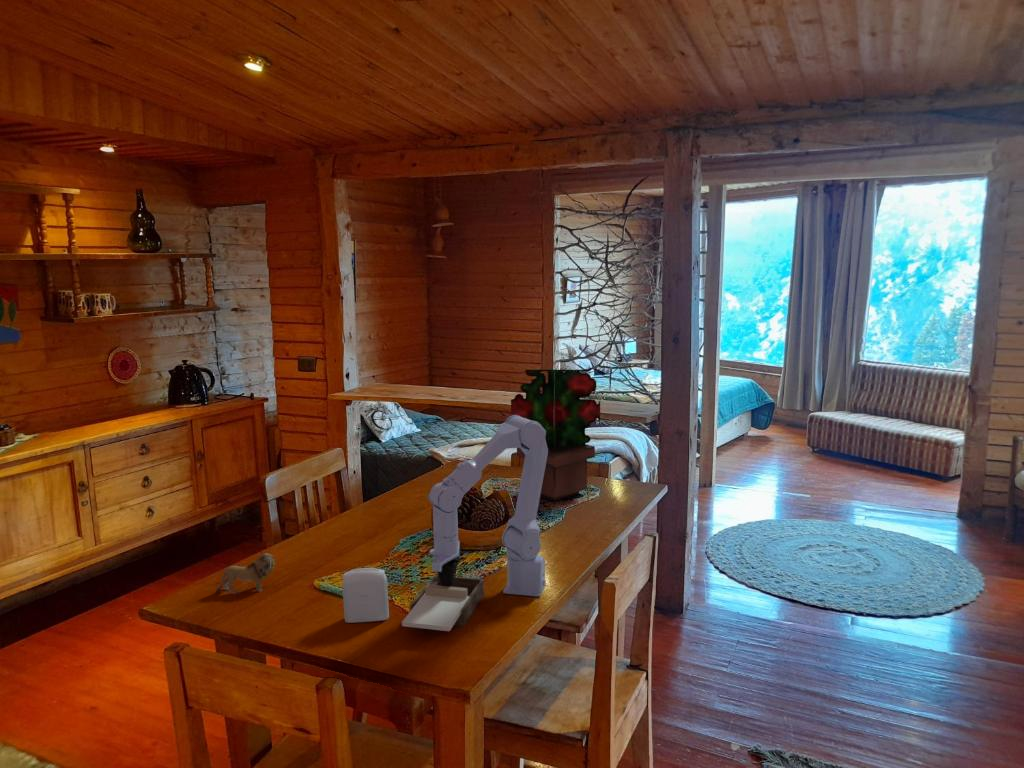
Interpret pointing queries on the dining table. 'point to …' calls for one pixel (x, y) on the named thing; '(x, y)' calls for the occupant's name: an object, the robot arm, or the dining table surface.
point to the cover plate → (437, 608)
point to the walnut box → (474, 592)
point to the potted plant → (561, 426)
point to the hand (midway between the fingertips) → (447, 588)
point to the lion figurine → (248, 572)
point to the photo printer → (365, 595)
